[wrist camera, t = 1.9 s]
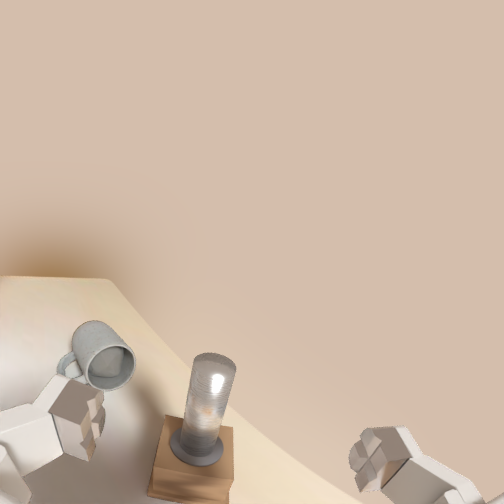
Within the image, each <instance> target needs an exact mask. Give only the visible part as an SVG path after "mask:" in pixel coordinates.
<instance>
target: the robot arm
mask: <svg viewBox="0 0 504 504" xmlns="http://www.w3.org/2000/svg"><path fill="white" fill-rule="evenodd" d="M103 401H104V395H103V391H101V390H99V389H96V388H94V387H91V386H89V385H86V384H83V383H81V382H78V381H76V380H74V379H71V378H68V377H66V376H63V375H61V374H59V373H58V374H56V375H54V376H53V378H52V379H51V380H50V381H49V383H48V384H47V385H46V387H45V388H44V389H43V390H42V392H41V393H40V394H39V396H38V397H37V398H36V400H35V401H34V402H33V404H32V405H31V404H29V403H26V404H23V405H20V406H17V407H13V408H10V409H7V410H4V411H1V412H0V504H28V503H29V501H30V498H31V496H32V492H31V490H30V489H29V487H28V486H27V484H26V483H25V481H24V479H23V478H22V477H24V476H26V475H28V474H29V473H31V472H33V471H35V470H37V469H38V468H40V467H42V466H44V465H45V464H47V463H49V462H51V461H52V460H54V459H56V458H57V457H59V456H61V455H62V454H63V452H64V453H66V454H69V455H71V456H74V457H76V458H79V459H82V460H84V461H87V462H89V461H90V459H91V456H92V454H93V452H94V449H95V447H96V446H95V441H94V439H96V438H98V437H100V436H101V433H102V431H103V427H104V423H105V409H104V408H103V407H102V403H103ZM360 438H361V440H360V441H358V442H357V443H355V444H354V445H353V447H352V448H351V450H350V454H349V464H350V467H351V469H352V470H354V471H355V472H356V473H357V474H356V476H355V481H356V483H357V486H358V489H359V491H360V492H368V491H375V490H381V492H382V493H384V494H385V495H386V496H387V497H388V498H389V499H390V500H391V501H392V502H393V503H395V504H504V493H502V494H501V495H499V496H497V497H496V498H494V499H493V500H491V501H489V502H487V503H485V502H484V500H483V498H482V497H481V495H480V493H479V492H478V490H477V489H476V487H475V486H474V484H473V482H472V481H471V480H469V479H467V478H465V477H464V476H462V475H460V474H458V473H457V472H455V471H453V470H451V469H450V468H448V467H446V466H444V465H443V464H441V463H439V462H438V461H436V460H434V459H433V458H431V457H429V456H428V455H423V453H422V452H421V450H420V448H419V447H418V445H417V443H416V442H415V440H414V438H413V437H412V435H411V434H410V432H409V430H408V429H407V427H405V426H404V425H402V426H392V427H377V428H367V429H365V430H364V431H363V432H362V433H361V435H360Z"/></svg>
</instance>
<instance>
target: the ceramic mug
mask: <svg viewBox="0 0 504 504" xmlns="http://www.w3.org/2000/svg"><path fill="white" fill-rule="evenodd" d="M72 348H73V351H72V352H70V353H68V354H67V355H65V356H64V357H63V358H62V359H61V360H60V362H59V363H58V366H57V373H59V374H61V375H63V376H65V371H64V370H65V368H66V367H67V366H68V365H69V364H70V363H71V362H72V361H74V360H75V359H77V362H78V364H79V366H80V368H81V370H82V372H83V375H81V376H80V377H76V378H72V379H74V380H76V381H78V382H81V383H83V384H87V383H89V384H90V386H92V387H94V388H96V389H99V390H101V391H112V390H115V389H118V388H120V387H122V386H123V385H125V384H126V383H127V382H128V381H129V380H130V379H131V377H132V375H133V373H134V371H135V367H136V358H135V355H134V353H133V351H132V349H131V348H130V347H129V346H128V345H127V344H126V343H125V342H124V341H123V340H122V339H121V338H120V337H119V336H118V335H117V334H116V332H115V331H114V330H113V329H112V328H111V327H110V326H108V325H107V324H105V323H103V322H101V321H94V320H93V321H88V322H85V323H83V324H82V325H80V326H79V327H78V328H77V329H76V331H75V332H74V335H73V338H72Z"/></svg>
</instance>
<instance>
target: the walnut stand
mask: <svg viewBox="0 0 504 504" xmlns="http://www.w3.org/2000/svg"><path fill="white" fill-rule="evenodd" d="M183 420H184V419H182V418H178V417H173V416H169V415H166V416H165V420H164V424H163V428H162V432H161V437H160V439H159V443H158V447H157V451H156V456H155V460H154V464H153V469H152V473H151V478H150V482H149V487H148V492H147V496H149V497H154V498H158V499H162V500H167V501H172V502H177V503H183V504H229V489H230V487H231V485H232V483H233V481H234V464H233V427H228V426H220V429H219V433H218V436H217V440H216V443H215V447H214V450H213V452H212V453H211V454H209V455H207V456H204V457H195V456H192V455H189V454H188V453H186V452H185V451H184V450H183V449H182V448H181V445H180V439H181V432H182V426H183Z"/></svg>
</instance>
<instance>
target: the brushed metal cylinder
mask: <svg viewBox="0 0 504 504" xmlns="http://www.w3.org/2000/svg"><path fill="white" fill-rule="evenodd" d="M235 373H236V366H235V364H234V363H233V361H231V360H230V359H229V358H227V357H225V356H223V355H220V354H216V353H203V354H200V355H198V356H196V357H195V359H194V362H193V368H192V373H191V378H190V384H189V390H188V396H187V401H186V407H185V413H184V420H183V426H182V432H181V439H180V445H181V448H182V449H183V450H184V451H185V452H186V453H188V454H189V455H192V456H195V457H204V456H207V455H209V454H211V453H212V452H213V450H214V447H215V443H216V440H217V436H218V433H219V429H220V426H221V422H222V419H223V415H224V412H225V408H226V405H227V401H228V397H229V394H230V391H231V387H232V383H233V380H234V376H235Z"/></svg>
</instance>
